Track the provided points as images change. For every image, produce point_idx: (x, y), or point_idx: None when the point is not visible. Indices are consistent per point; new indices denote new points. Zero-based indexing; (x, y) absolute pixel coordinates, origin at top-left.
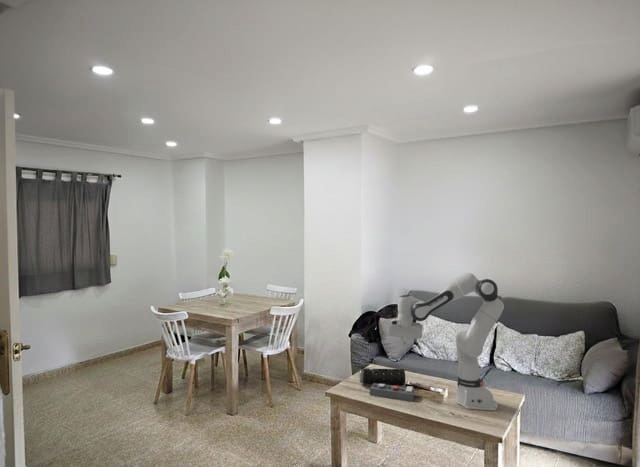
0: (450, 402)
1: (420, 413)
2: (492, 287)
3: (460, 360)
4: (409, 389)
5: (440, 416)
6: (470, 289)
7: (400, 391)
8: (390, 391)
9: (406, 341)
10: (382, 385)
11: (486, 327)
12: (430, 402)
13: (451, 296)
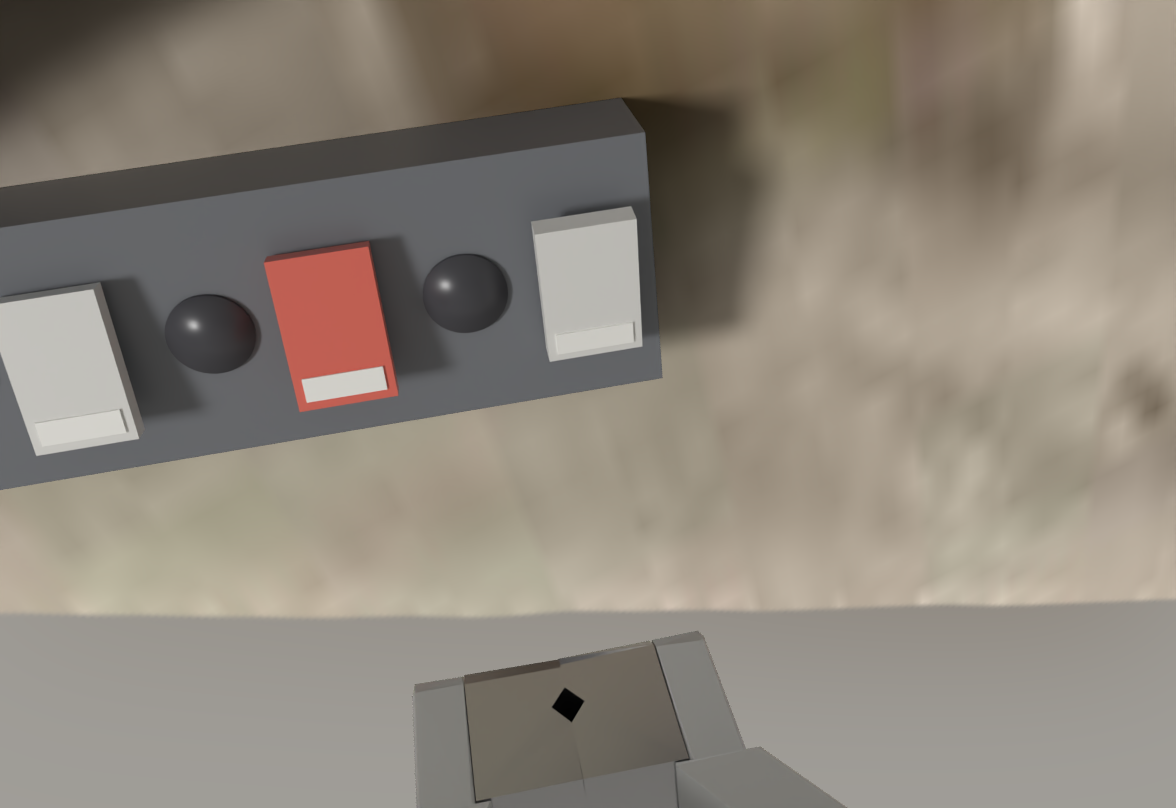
0: (1162, 85)
1: (802, 571)
2: None
3: None
4: (600, 316)
5: (1014, 527)
6: None
7: (457, 366)
8: (308, 434)
9: (663, 799)
10: (119, 432)
11: None
12: (886, 231)
13: None
